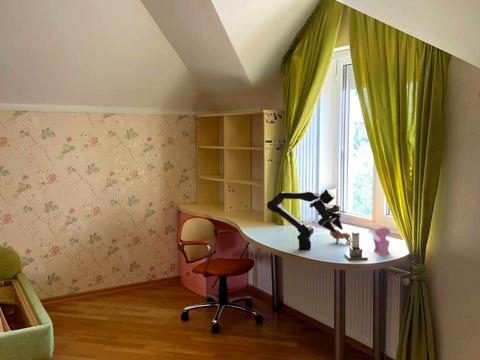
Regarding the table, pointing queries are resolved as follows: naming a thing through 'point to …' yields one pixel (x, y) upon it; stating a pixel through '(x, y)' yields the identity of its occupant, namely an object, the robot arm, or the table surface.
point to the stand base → (355, 255)
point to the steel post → (355, 240)
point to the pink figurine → (382, 241)
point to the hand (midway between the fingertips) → (338, 230)
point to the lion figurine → (340, 236)
